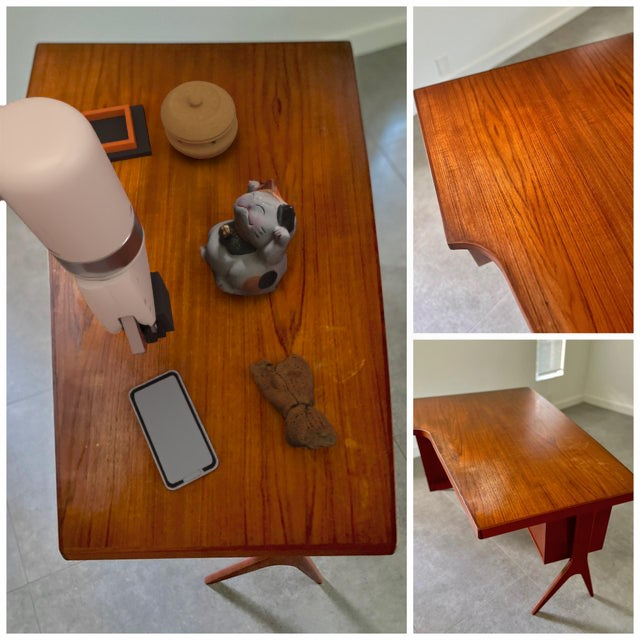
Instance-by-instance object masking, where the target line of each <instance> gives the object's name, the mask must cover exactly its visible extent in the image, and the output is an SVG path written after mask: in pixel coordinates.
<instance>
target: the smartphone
mask: <svg viewBox="0 0 640 640" xmlns="http://www.w3.org/2000/svg"><path fill="white" fill-rule="evenodd" d="M128 399H129V401H130V405H131V406H132V409H133V411H134V414H135V416H136V418H137V422H138V423H139V426H140V429H141V430H142V433H143V436H144V439H145V440H146V443H147V445H148V448H149V450H150V452H151V455H152V457H153V460H154V462H155V465H156V467H157V469H158V472H159V474H160V476H161V479H162V482H163V484H164V486H165V488H166V489H168V490H170V491H176V490H179V489H181V488H182V487H185V486H186V485H189V484H190V483H192V482H195V480H198V479H200V478H202V477H203V476H205V475H207V474H209V473H211V472H213V471H214V470H216V469H217V468H218V466H219V461H220V460H219V458H218V455H217V453H216V451H215V449H214V447H213V445H212V442H211V440H210V437H209V435H208V433H207V431H206V429H205V426H204V424H203V422H202V420H201V418H200V415H199V414H198V412H197V409H196V407H195V405H194V403H193V401H192V399H191V396H190V394H189V392H188V390H187V388H186V386H185V383H184V381H183V379H182V377H181V375H180V373H179V372H178V371H177V370H174V369H172V370H171V369H170V370H167V371H166V372H165V373H162V374H159V375H157V376H156V377H153V378H150V379H149V380H147V381H144V382H142V383H141V384H138V385H136V386H134V387H132V388H131V389H130V390H129V392H128Z"/></svg>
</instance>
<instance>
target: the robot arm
mask: <svg viewBox="0 0 640 640" xmlns="http://www.w3.org/2000/svg"><path fill="white" fill-rule="evenodd" d="M80 112H81V111H79V110H78V109H76V108H75V107H73V106H72V105H70V104H69V103H66V102H65V101H62V100H59V99H55V98H51V97H43V96H33V97H25V98H20V99H16V100H14V101H10V102H8V103H6V104H2V105H1V104H0V202H3V201H4V202H5V203H6V205H7V206H8V207H9V208H10V209H11V210H12V211H13V213H15V215H16V216H17V217H18V218H19V219H20V220H21V221H22V223H23V224H24V225H25V226H26V227H27V228H28V230H29V231H31V233H32V234H33V235H34V236H35V238H37V240H38V241H39V242H40V243H41V244H42V246H44V247H45V249H46V250H47V251H48V252H49V254H51V255H52V257H54V259H55V260H56V261H57V262H58V263H59V265H60V266H61V267H62V268H63V269H64V270H65V271H66V272H67V273H68V274H70V275H72V276H74V280H75V284H76V286H77V288H78V290H79V293H80V294H81V296H82V298H83V300H84V301H85V304H86V305H87V306H88V308H89V309H90V311H91V312H92V314H93V315H94V316H95V318H96V320H98V322H99V324H100V325H101V326H102V327H103V328H104V329H105V330H106V331H107V332H108V333H109V334H111V335H116V334H117V335H118V334H121V333H122V331H124V330H125V331H124V333H125V335H126V338H127V342H128V344H129V347H130V350H131V352H132V353H131V354H132V355H133V356H138V355H143V354H147V352H148V346H149V345H150V344H151V345H152V344H155V343H158V342H159V339H160V340H161V339H164V338H166V337H168V336H167V335H168V334H167V332H166V331H165V329H164V328H163V326H162V325H161V323H160V322H159V320H156V317H155V307H154V299H153V291H152V284H151V277H150V272H151V271H150V263H149V257H148V252H147V248H146V244H145V241H146V235H145V229H144V226H143V224H142V223H141V222H142V221H141V220H140V217H139V216H138V215H137V212H136V210H135V208H134V207H133V205H132V202H131V200H130V199H129V197H128V195H127V192H126V190H125V189H124V187H123V184H122V182H121V180H120V179H119V176H118V175H117V173H116V171H115V168H114V167H113V165H112V162H110V160H109V158H108V156H107V154H106V152H105V150H104V149H103V147H102V145H101V143H100V141H99V139H98V137H97V135H96V133H95V131H94V129H93V128H92V126H91V124H90V123H89V121H88V120H87V119H86V118H85V117H84V116H83V115H82V114H81V113H80ZM121 322H122V323H121ZM122 324H123V327H124V330H123V329H122Z"/></svg>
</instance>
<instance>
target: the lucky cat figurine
mask: <svg viewBox="0 0 640 640" xmlns="http://www.w3.org/2000/svg"><path fill="white" fill-rule="evenodd" d="M232 208H233V216H234V218H233V219H228V220H224V221H221V222H218V223H217V224H215V225H214V226H213V227H211V229H210V230H209V231H208V233H207V243H206V245H205V246H204V245H200V246H199V250H200V256H201V258H202V260H204V262H206V263H207V265H208V266H209V268H210V270H211V274H212V276H213V280H214V284H215V286H216V287H217V288H218V289H220V290H221V291H222V292H225V293H228V294H230V295H237V296H261V295H265V294H268V293H272V292H274V291H277V289H278V287H279V283H280V281H281V279H282V278H283V277H284V275H285V274H286V271H287V270H288V253H287V248H288V245H289V243H290V242H291V240H292V239H293V238H294V236H295V234H296V230H297V215H296V211H295V206H294V205H290V204H288V203H287V202H286V201H284V199H283V198H282V196H281V194H280V192H279V189H278V185H277V183H276V181H275V180H274V179H273V178H270V179H268V180H266V181H265V182H261V181H257V180H248V184H247V191H246V193H244V194H242V195H241V196H239V197H238V198H237V199H235V200H234V203H233V205H232Z"/></svg>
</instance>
